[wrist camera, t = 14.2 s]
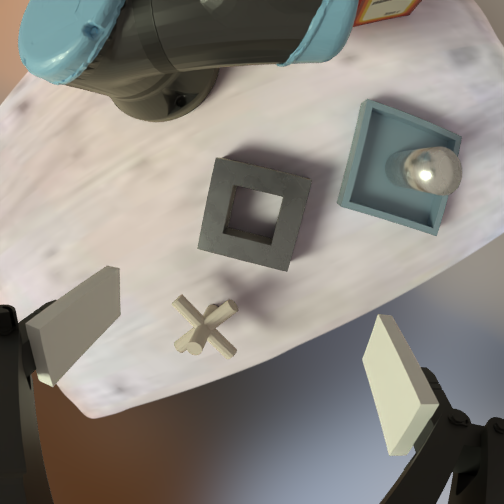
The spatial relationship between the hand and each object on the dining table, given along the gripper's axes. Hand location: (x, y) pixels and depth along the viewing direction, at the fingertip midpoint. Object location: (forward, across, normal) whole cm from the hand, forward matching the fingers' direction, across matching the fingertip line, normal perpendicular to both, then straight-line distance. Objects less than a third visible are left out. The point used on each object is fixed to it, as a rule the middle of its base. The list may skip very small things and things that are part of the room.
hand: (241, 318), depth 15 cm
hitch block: (+26, -2, 0) cm, 26 cm away
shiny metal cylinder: (+25, +15, +9) cm, 31 cm away
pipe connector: (+26, -6, -14) cm, 30 cm away
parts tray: (+26, +15, +9) cm, 31 cm away
